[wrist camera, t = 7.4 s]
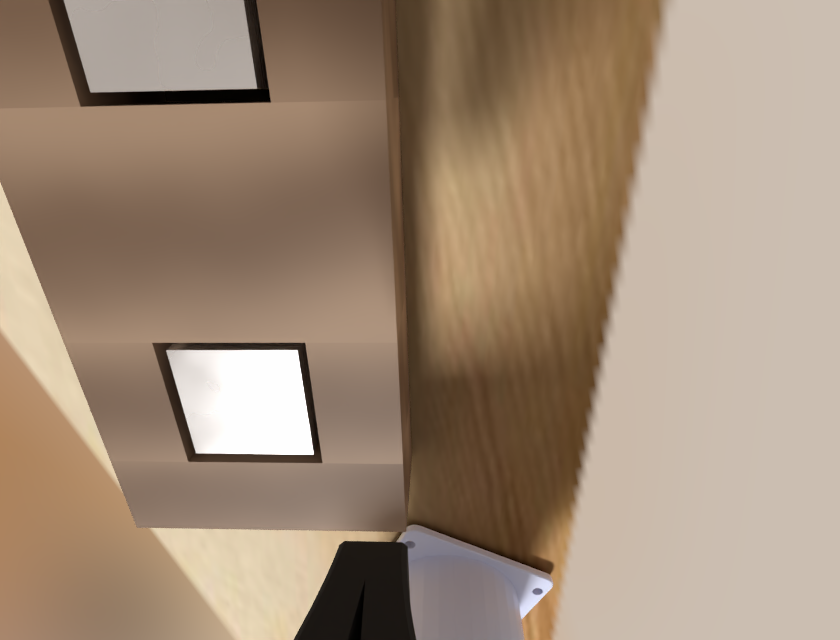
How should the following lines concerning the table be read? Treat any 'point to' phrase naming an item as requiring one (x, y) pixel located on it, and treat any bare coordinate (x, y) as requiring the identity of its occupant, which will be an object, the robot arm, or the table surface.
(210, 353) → the pin
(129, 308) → the block
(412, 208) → the table surface
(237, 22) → the pin
